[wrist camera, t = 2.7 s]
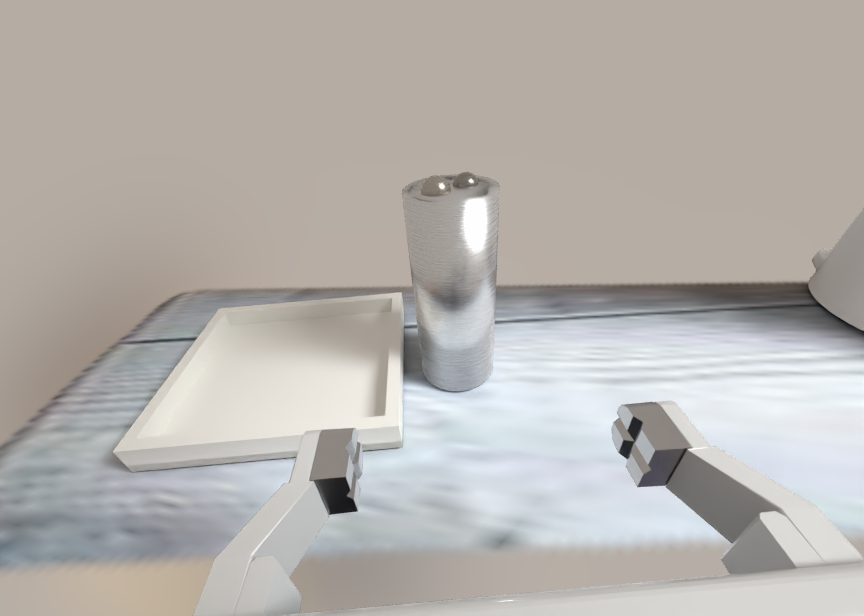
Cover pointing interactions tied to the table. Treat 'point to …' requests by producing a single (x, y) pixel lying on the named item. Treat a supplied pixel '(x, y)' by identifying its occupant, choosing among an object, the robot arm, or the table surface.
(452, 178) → the metal cup with balls
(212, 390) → the cream tray
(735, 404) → the table surface
